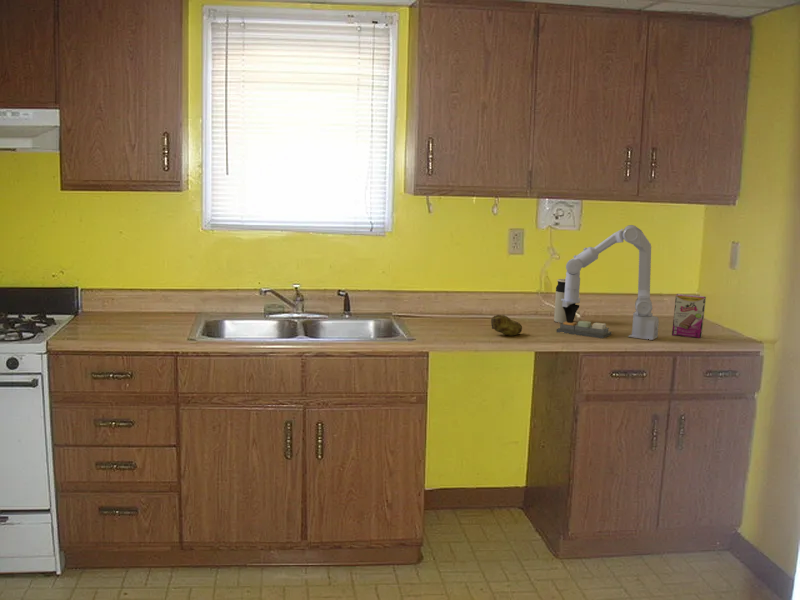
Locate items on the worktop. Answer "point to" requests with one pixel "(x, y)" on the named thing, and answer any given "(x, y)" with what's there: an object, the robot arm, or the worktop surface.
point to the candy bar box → (688, 315)
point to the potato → (505, 325)
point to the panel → (584, 331)
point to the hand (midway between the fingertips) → (569, 322)
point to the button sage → (584, 323)
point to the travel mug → (559, 302)
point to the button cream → (599, 326)
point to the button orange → (570, 323)
